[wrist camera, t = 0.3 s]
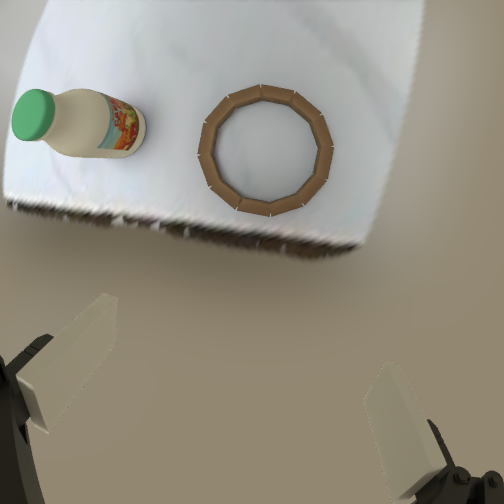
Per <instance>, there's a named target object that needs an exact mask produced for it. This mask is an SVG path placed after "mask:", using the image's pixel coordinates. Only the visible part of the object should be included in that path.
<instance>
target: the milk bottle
mask: <svg viewBox="0 0 504 504" xmlns="http://www.w3.org/2000/svg"><path fill="white" fill-rule="evenodd" d="M12 130H13V133H14V135H15V136H16V137H17V138H18V139H20V140H23V141H41V140H44V141H45V142H46V143H47V144H48V145H49V146H50V147H51V148H53V149H54V150H55V151H57V152H58V153H61V154H63V155H66V156H71V157H82V158H124V157H127V156H129V155H131V154H132V153H134V152H135V151H136V150H137V149H138V147H139V146H140V145H141V143H142V141H143V139H144V136H145V130H146V125H145V120H144V117H143V115H142V113H141V112H140V111H139V110H138V109H137V108H135V107H134V106H132V105H129V104H127V103H125V102H123V101H120V100H118V99H115V98H113V97H110V96H108V95H105V94H103V93H100V92H96V91H93V90H89V89H74V90H69V91H66V92H64V93H61V94H59V95H54V94H53V93H51V92H47V91H44V90H40V89H32V90H29V91H27V92H26V93H24V94H23V95H22V96H21V97H20V99H19V100H18V102H17V104H16V106H15V108H14V111H13V115H12Z"/></svg>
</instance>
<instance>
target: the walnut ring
mask: <svg viewBox="0 0 504 504" xmlns="http://www.w3.org/2000/svg"><path fill="white" fill-rule="evenodd" d="M228 96H229V98H228V97H225V98H224V99H223V100H222V101H221V102H220V104H219V105H218V106H217V107H216V108H215V109H214V110H213V111H212V113H211V114H210V115H209V116H208V117H207V118H206V119H205V121H206V122H207V123H203V128H202V133H201V138H200V143H199V148H198V154H199V155H200V156H198V159H199V161H200V164H201V167H202V170H203V173H204V175H205V178H206V181H207V184H208V186H212V187H211V188H210V189H211V190H212V191H214V192H215V193H216V194H217V195H218V196H219V197H221V198H222V199H223V200H224V201H225V202H227V203H228V204H229V205H230V206H231V207H233V208H234V209H236V208H237V207H238V208H237V211H242V212H247V213H253V214H258V215H263V216H268V217H270V213H271V216H275V215H278V214H281V213H284V212H287V211H290V210H293V209H297V208H300V207H303V205H302V203H303V204H304V205H305V204H306V203H307V202H308V201H309V200H310V199H311V198H312V197H313V196H314V195H315V193H316V192H317V191H318V190H319V189H320V188H321V187H322V186H323V185H324V183H325V182H326V180H325V179H328V175H329V170H330V165H331V160H332V155H333V150H334V147H330V146H333V142H332V139H331V136H330V133H329V130H328V128H327V125H326V122H325V119H324V117H323V115H320V114H321V112H320V111H319V110H318V109H316V108H315V107H314V106H313V105H312V104H311V103H309V102H308V101H307V100H306V99H305V98H304V97H302V96H301V95H300V94H299V93H297V92H296V93H295V94H294V90H289V89H284V88H279V87H274V86H268V85H261V87H260V85H256V86H253V87H250V88H247V89H244V90H241V91H238V92H235V93H232V94H229V95H228ZM261 100H263V101H268V102H274V103H279V104H284V105H289V106H290V107H291V108H292V109H293V110H295V111H296V112H297V113H298V114H299V115H300V116H302V117H303V118H304V119H305V120H306V121H307V122H309V124H310V127H311V129H312V132H313V135H314V138H315V141H316V144H317V146H318V151H317V156H316V161H315V166H314V171H313V174H312V175H311V177H310V178H309V179H308V180H307V181H306V182H305V183H304V184H303V185H302V187H301V188H300V189H299V190H298V191H297V192H296V193H295V194H293V195H290V196H287V197H284V198H281V199H278V200H275V201H272V202H266V201H261V200H256V199H250V198H245V197H242V196H241V195H240V194H239V193H237V192H236V191H235V190H234V189H233V188H231V187H230V186H229V185H228V184H227V183H225V182H224V181H223V180H222V178H221V175H220V172H219V170H218V167H217V164H216V161H215V158H214V156H213V153H214V148H215V142H216V137H217V132H218V128H219V127H220V126H221V125H222V124H223V123H224V122H225V120H226V119H227V118H228V117H229V116H230V115H231V114H232V113H233V112H234V110H235V109H237V108H240V107H243V106H246V105H249V104H252V103H255V102H258V101H261ZM319 115H320V116H319Z"/></svg>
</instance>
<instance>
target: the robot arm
mask: <svg viewBox="0 0 504 504" xmlns="http://www.w3.org/2000/svg"><path fill="white" fill-rule="evenodd" d="M116 316H117V298H116V297H114V296H111V295H108V294H105V293H103V294H102V295H101V296H100V297H99V298H97V299H96V300H95V301H94V302H93V303H91V305H89V306H88V307H87V308H86V309H85V310H84V311H82V312H81V313H80V314H79V315H78V316H77V317H76V318H75V319H74V320H72V321H71V322H70V323H69V324H68V325H67V326H66V327H65V328H64V329H63V330H62V331H60V333H58V334H57V335H56V336H55V337H53V336H51V335H49V334H45V335H43V336H40V337H38V338H36V339H35V340H34V341H33V342H32V343H31V344H30V345H29V346H27V347H26V348H25V349H24V351H22V352H21V353H20V354H19V355H18V356H17V357H15V358H14V359H13V360H12V361H11V362H10V363H9V364H8V365H7V366H6V367H5V364H4V360H3V358H2V357H1V356H0V504H45V502H44V498H43V495H42V492H41V488H40V485H39V481H38V477H37V473H36V469H35V465H34V461H33V456H32V451H31V446H30V441H29V435H28V429H27V425H26V421H27V420H28V418H29V417H31V420H32V422H33V425H34V426H35V427H37V428H39V429H41V430H42V431H44V432H46V433H47V434H50V433H51V432H52V430H53V429H54V427H55V426H56V424H57V423H58V422H59V420H60V419H61V417H62V416H63V415H64V413H65V412H66V410H67V409H68V408H69V406H70V405H71V403H72V402H73V401H74V399H75V398H76V396H77V395H78V394H79V392H80V391H81V390H82V388H83V387H84V386H85V384H86V383H87V382H88V380H89V379H90V378H91V376H92V375H93V374H94V372H95V371H96V370H97V368H98V367H99V366H100V364H101V363H102V362H103V361H104V359H105V358H106V357H107V355H108V354H109V353H110V351H111V350H112V349H113V348H114V346H115V345H116V318H117V317H116ZM363 405H364V408H365V411H366V415H367V418H368V421H369V424H370V428H371V431H372V434H373V438H374V441H375V445H376V448H377V451H378V455H379V459H380V462H381V466H382V469H383V473H384V477H385V480H386V484H387V488H388V492H389V496H390V500H391V503H398V502H405V501H407V500H408V499H410V498H411V497H412V496H413V495H414V494H415V496H416V499H417V500H415V501H414V502H413V503H411V504H504V482H503V479H502V477H501V476H500V474H499V473H497V472H495V471H488V472H486V473H485V475H483V476H482V477H481V478H479V477H471V475H470V474H469V472H468V471H467V470H465V469H464V468H462V467H458V466H457V467H456V466H455V464H454V462H453V460H452V458H451V456H450V453H449V451H448V449H447V447H446V445H445V444H444V441H443V439H442V437H441V434H440V432H439V430H438V428H437V427H436V426H435V425H434V423H432V421H431V420H426V418H425V416H424V413H423V412H422V409H421V407H420V405H419V404H418V402H417V400H416V397H415V395H414V394H413V392H412V390H411V388H410V386H409V384H408V382H407V380H406V378H405V377H404V374H403V372H402V371H401V369H400V367H399V365H398V364H397V363H391V362H385V363H384V365H383V367H382V369H381V370H380V372H379V374H378V376H377V377H376V379H375V381H374V383H373V384H372V386H371V388H370V389H369V391H368V393H367V394H366V396H365V397H364V399H363Z"/></svg>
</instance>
